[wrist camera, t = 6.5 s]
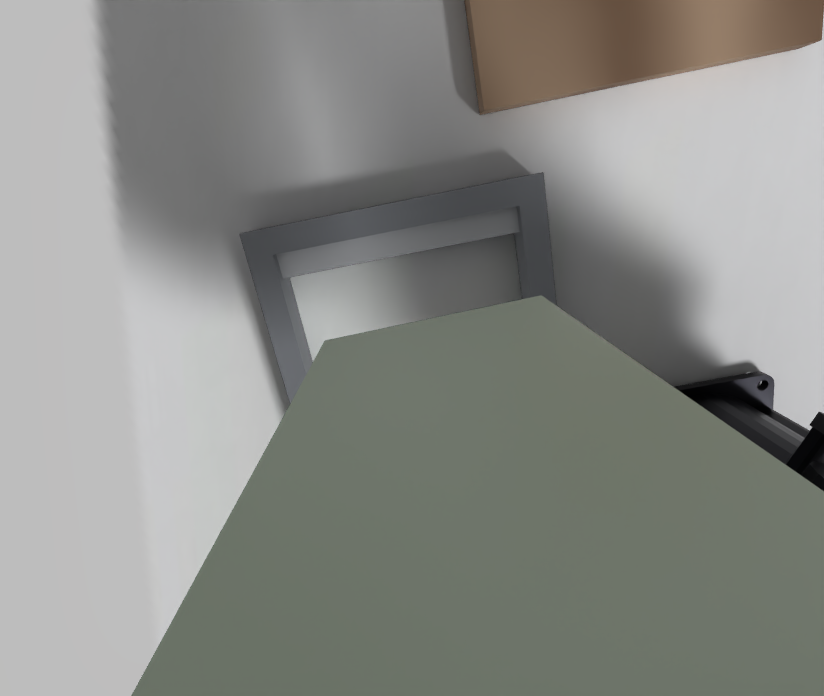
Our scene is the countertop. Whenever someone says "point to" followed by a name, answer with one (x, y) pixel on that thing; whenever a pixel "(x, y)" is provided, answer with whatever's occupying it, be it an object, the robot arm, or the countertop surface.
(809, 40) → the pad
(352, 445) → the module
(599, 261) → the countertop surface
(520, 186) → the grey flat frame
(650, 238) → the countertop surface
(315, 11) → the countertop surface
